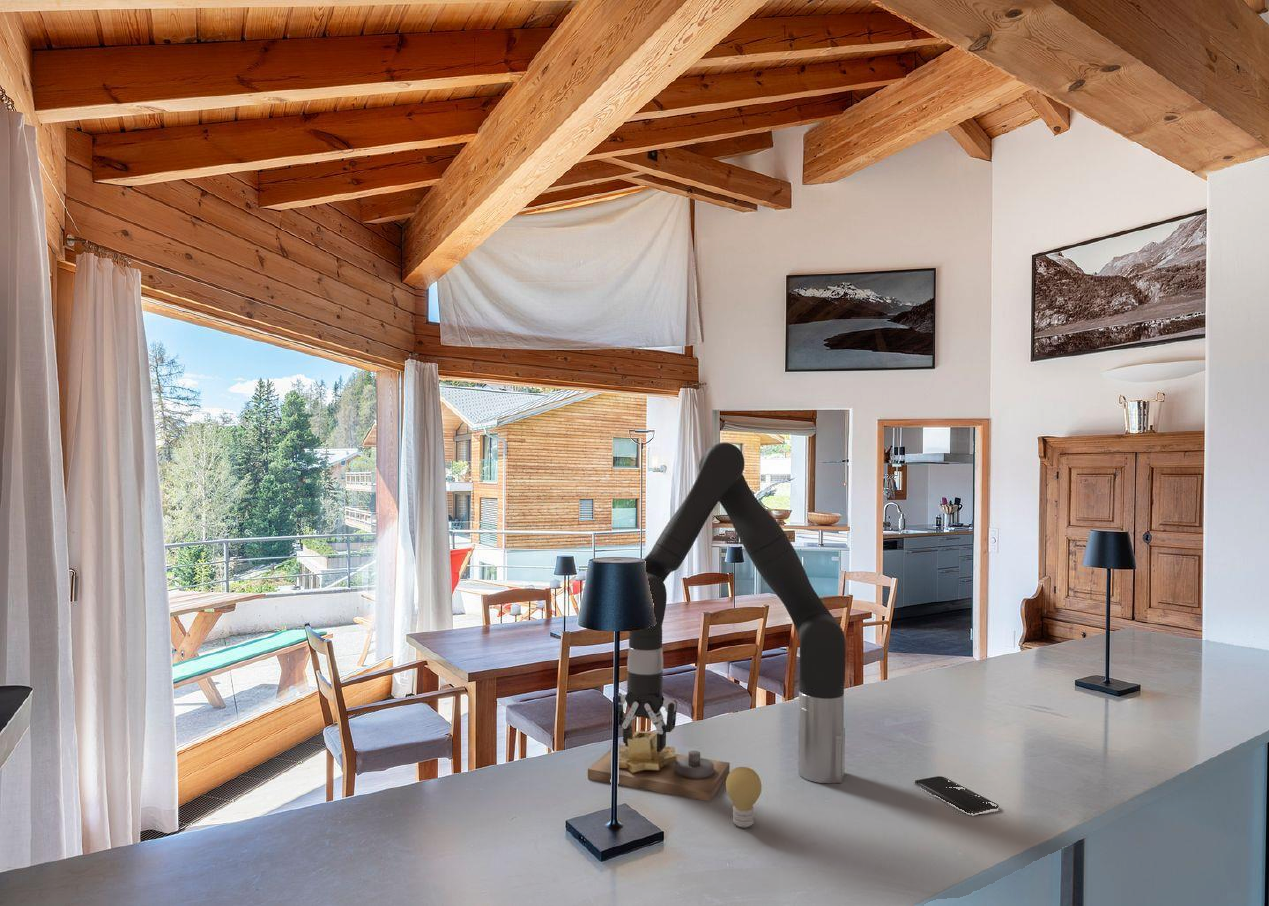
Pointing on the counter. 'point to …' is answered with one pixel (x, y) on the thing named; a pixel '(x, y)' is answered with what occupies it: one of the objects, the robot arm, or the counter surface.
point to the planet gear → (645, 753)
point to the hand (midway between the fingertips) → (644, 747)
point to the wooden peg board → (669, 775)
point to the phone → (955, 794)
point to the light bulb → (743, 794)
